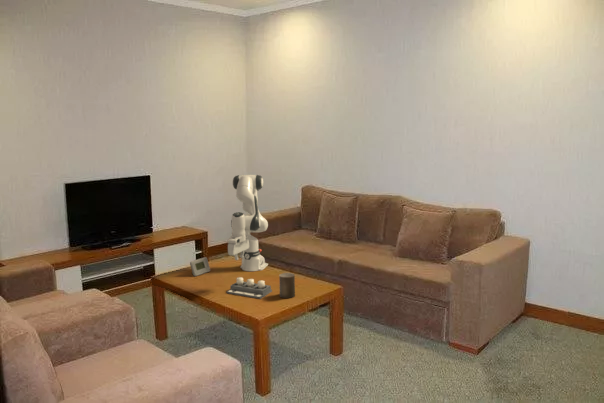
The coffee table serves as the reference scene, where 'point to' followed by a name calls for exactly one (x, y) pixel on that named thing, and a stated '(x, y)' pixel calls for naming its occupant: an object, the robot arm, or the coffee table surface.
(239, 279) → the button
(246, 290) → the board
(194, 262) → the digital clock
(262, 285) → the button
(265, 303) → the coffee table surface
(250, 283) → the button
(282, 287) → the pillar candle
